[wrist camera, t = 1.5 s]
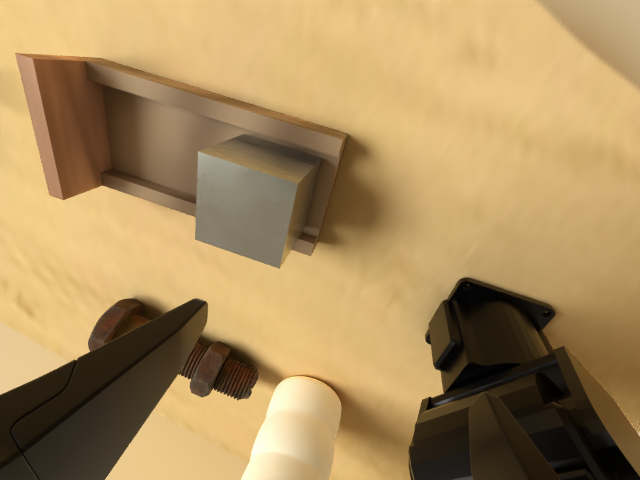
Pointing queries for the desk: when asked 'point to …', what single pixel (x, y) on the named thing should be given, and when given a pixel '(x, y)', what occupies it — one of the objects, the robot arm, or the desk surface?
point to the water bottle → (297, 433)
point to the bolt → (200, 366)
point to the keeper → (254, 197)
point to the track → (153, 133)
